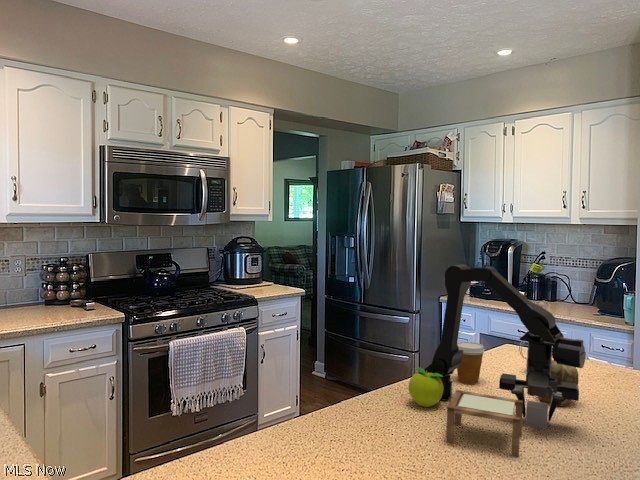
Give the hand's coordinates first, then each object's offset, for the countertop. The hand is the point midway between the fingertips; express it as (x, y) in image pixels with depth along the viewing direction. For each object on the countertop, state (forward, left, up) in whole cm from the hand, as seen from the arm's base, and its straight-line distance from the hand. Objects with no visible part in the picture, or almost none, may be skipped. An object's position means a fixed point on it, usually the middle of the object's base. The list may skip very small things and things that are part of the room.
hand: (536, 418), depth 131 cm
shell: (+5, +20, -2) cm, 21 cm away
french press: (-1, +45, -2) cm, 45 cm away
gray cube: (0, 0, -1) cm, 1 cm away
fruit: (-29, -1, -2) cm, 29 cm away
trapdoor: (-11, -15, +6) cm, 20 cm away
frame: (-11, -15, -1) cm, 19 cm away
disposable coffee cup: (-21, +26, -2) cm, 33 cm away
